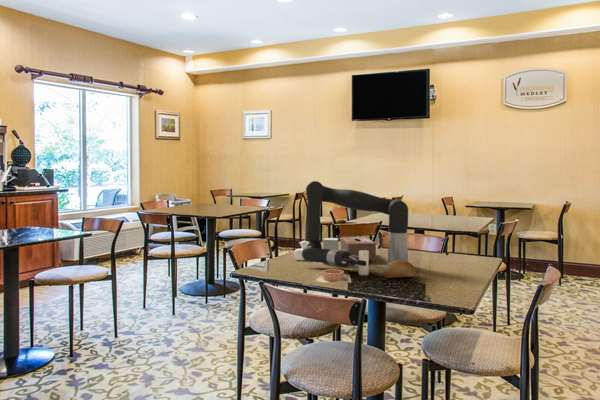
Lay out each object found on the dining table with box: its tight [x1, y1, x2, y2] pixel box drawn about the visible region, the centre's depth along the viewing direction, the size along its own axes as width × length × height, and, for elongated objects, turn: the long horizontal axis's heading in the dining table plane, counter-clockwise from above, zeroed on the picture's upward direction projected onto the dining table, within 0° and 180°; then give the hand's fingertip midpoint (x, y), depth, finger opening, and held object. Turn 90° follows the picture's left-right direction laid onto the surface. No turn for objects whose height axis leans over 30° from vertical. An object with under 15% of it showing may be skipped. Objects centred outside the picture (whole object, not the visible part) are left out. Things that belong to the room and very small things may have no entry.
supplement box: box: [322, 237, 339, 265], centre depth 251 cm, size 7×7×13 cm
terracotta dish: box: [321, 268, 345, 281], centre depth 210 cm, size 9×9×3 cm
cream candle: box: [358, 249, 370, 276], centre depth 218 cm, size 4×4×13 cm
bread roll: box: [382, 260, 417, 279], centre depth 217 cm, size 10×15×8 cm, turn 96°
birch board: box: [315, 273, 352, 284], centre depth 210 cm, size 15×15×2 cm
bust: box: [293, 240, 310, 262], centre depth 261 cm, size 12×8×11 cm
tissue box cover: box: [340, 235, 377, 263], centre depth 266 cm, size 26×14×10 cm, turn 4°
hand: (368, 262), depth 216 cm, fingers closed on cream candle, 4 cm apart
